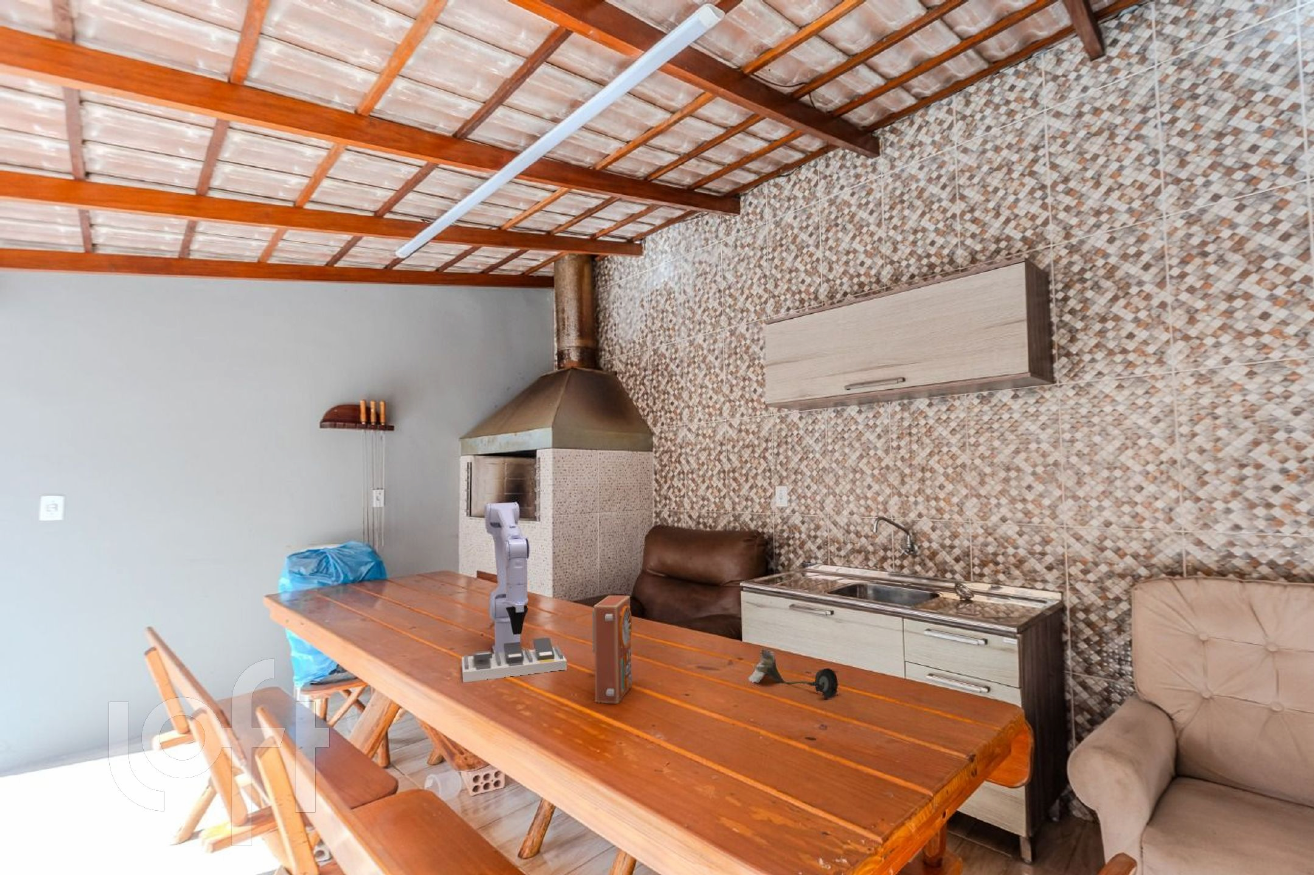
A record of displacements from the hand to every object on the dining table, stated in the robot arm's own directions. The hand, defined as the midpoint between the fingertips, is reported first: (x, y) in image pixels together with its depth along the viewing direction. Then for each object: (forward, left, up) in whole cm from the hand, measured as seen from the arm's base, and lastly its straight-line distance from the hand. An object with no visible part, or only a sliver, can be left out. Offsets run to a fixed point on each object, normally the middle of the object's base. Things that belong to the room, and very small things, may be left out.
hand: (517, 633), depth 173 cm
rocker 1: (+3, -9, -4) cm, 10 cm away
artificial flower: (+43, +58, -9) cm, 73 cm away
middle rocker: (+3, -1, -4) cm, 5 cm away
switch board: (+3, -1, -8) cm, 9 cm away
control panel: (+32, +19, -9) cm, 38 cm away
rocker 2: (+3, +7, -4) cm, 8 cm away
